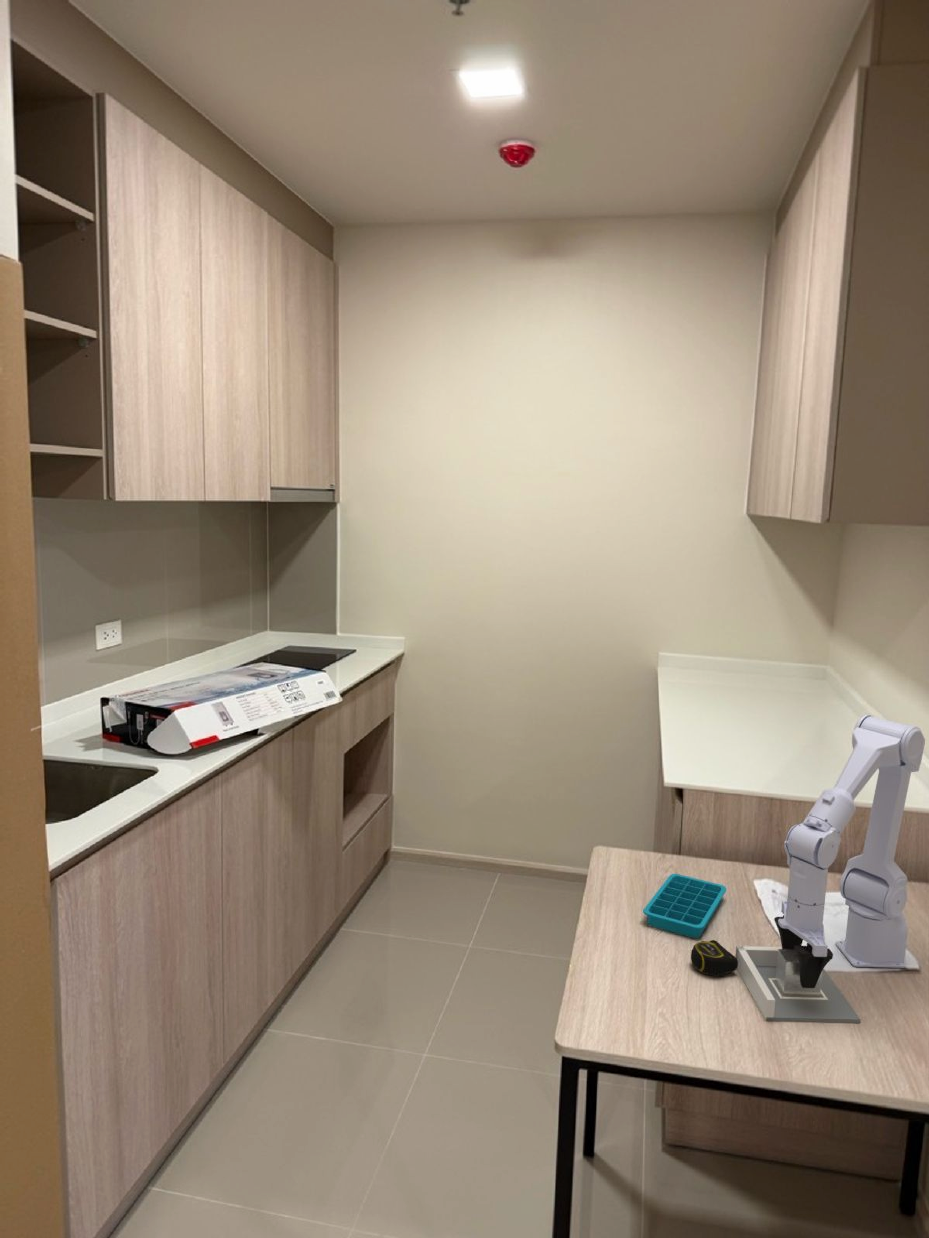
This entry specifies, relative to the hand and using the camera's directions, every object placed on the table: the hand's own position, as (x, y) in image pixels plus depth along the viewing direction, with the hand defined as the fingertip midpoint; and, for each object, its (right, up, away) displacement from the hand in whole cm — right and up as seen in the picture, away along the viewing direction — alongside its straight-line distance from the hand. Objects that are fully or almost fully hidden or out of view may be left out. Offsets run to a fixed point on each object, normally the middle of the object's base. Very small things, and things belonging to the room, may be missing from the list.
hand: (798, 973), depth 145 cm
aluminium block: (0, -3, 0) cm, 3 cm away
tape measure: (-12, -2, +8) cm, 15 cm away
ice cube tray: (-12, +1, +27) cm, 30 cm away
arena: (-1, -3, +1) cm, 3 cm away
